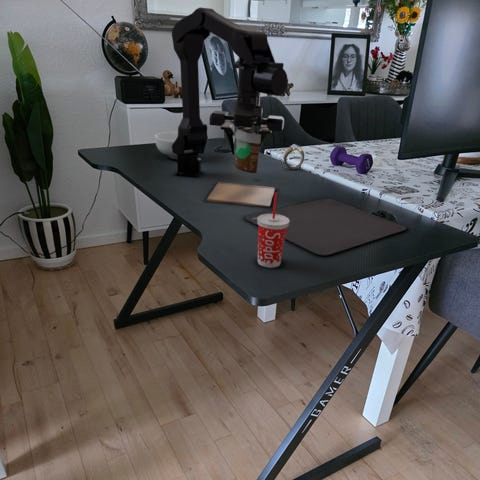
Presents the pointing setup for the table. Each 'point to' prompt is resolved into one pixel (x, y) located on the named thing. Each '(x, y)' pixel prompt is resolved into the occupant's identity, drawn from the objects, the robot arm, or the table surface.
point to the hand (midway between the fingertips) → (244, 155)
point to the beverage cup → (271, 237)
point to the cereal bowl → (166, 142)
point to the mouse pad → (331, 226)
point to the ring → (290, 152)
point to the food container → (247, 148)
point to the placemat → (242, 194)
